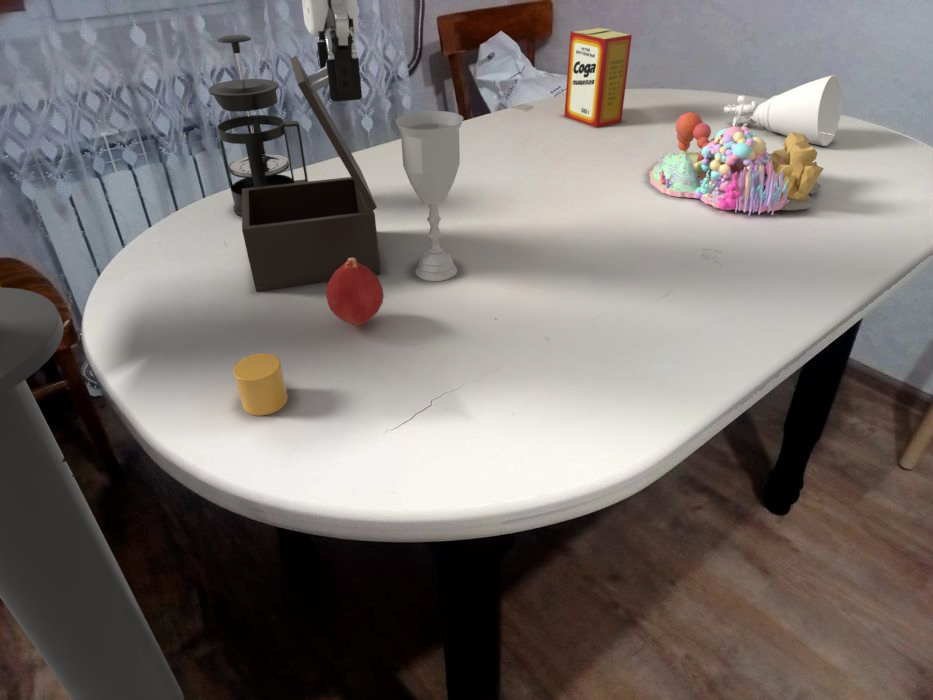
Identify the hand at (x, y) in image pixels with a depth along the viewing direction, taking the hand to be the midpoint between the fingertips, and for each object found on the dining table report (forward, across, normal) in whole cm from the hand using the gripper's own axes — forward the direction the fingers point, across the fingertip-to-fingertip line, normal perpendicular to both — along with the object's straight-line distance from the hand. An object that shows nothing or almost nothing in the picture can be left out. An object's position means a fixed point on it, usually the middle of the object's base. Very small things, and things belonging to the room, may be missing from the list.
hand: (341, 88), depth 72 cm
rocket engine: (+20, -26, +82) cm, 89 cm away
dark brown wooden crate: (+20, 0, -6) cm, 21 cm away
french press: (+20, -19, -10) cm, 30 cm away
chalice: (+20, +8, +8) cm, 23 cm away
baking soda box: (+20, -46, +53) cm, 73 cm away
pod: (+20, +27, -12) cm, 36 cm away
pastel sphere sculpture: (+20, -6, +58) cm, 62 cm away
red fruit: (+20, +17, -2) cm, 26 cm away
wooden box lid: (+5, 0, -2) cm, 5 cm away
